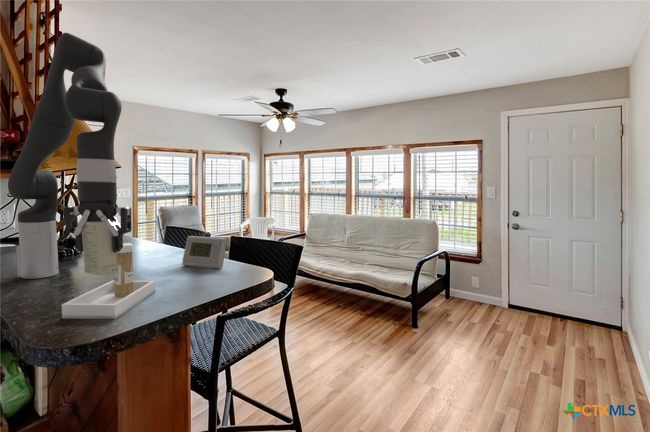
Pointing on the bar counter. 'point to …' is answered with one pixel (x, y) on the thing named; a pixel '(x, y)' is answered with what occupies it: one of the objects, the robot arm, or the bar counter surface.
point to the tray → (106, 301)
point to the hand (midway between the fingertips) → (100, 251)
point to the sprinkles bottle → (124, 271)
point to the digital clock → (204, 252)
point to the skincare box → (98, 249)
